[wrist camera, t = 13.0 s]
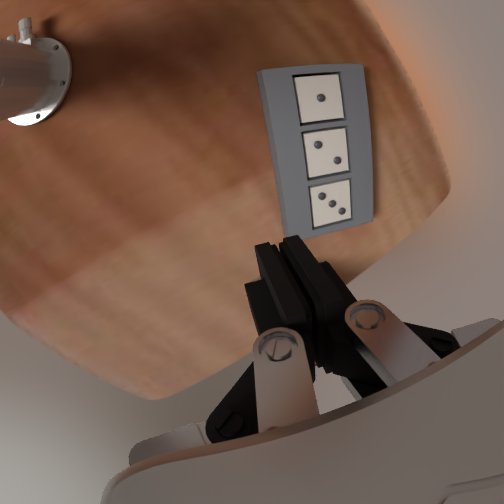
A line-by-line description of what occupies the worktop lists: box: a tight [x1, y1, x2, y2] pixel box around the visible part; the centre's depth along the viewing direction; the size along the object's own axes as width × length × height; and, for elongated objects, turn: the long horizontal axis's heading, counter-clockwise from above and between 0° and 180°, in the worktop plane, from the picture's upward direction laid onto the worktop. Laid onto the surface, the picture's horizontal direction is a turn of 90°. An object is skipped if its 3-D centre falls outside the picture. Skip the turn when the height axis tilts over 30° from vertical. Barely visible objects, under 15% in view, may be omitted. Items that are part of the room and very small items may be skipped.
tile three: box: [308, 178, 351, 227], centre depth 41 cm, size 6×6×2 cm
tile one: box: [292, 75, 344, 123], centre depth 33 cm, size 6×6×2 cm
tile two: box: [301, 127, 349, 178], centre depth 37 cm, size 6×6×2 cm
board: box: [256, 64, 373, 240], centre depth 37 cm, size 24×14×3 cm, turn 10°
